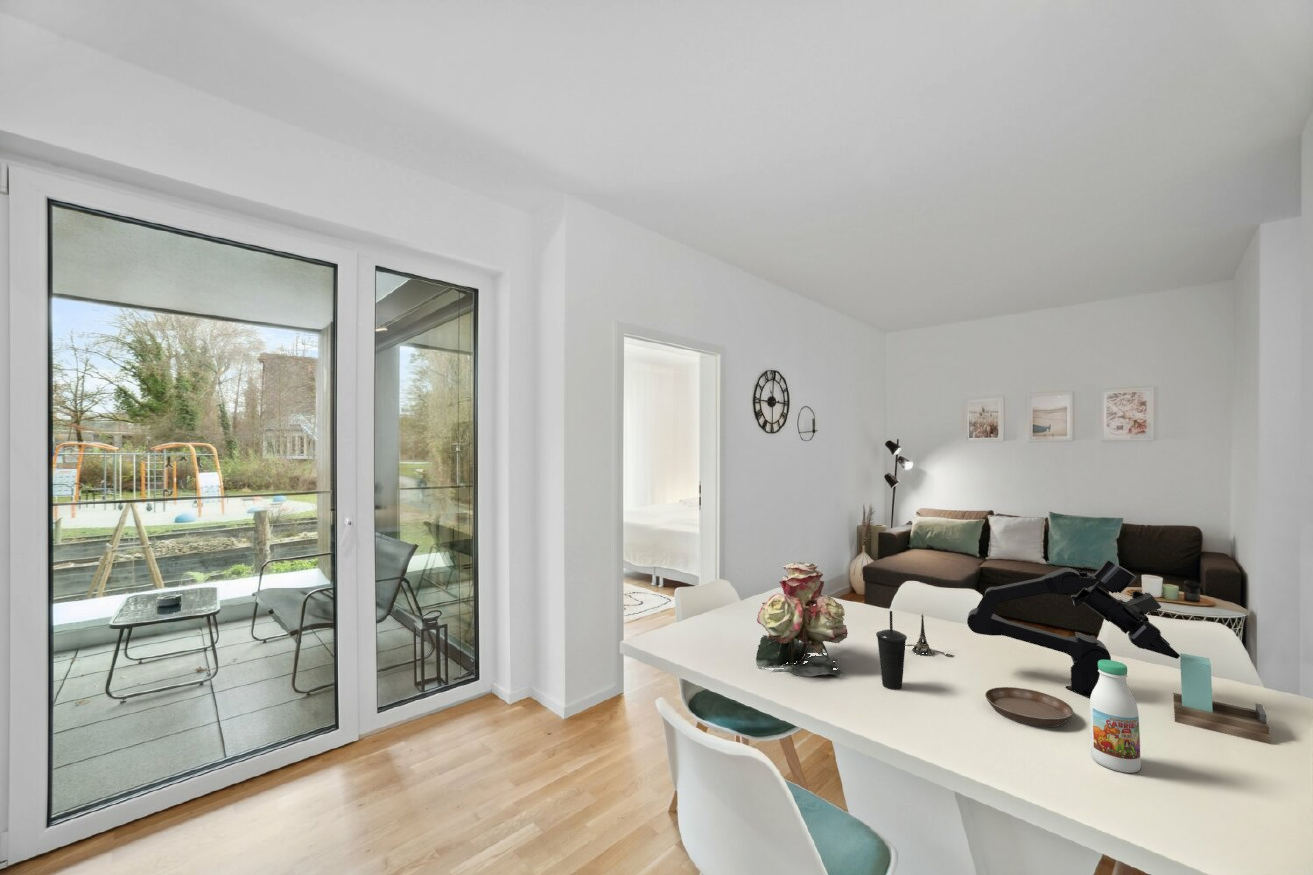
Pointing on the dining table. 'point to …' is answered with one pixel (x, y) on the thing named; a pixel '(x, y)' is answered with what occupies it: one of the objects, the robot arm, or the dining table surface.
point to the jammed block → (1196, 682)
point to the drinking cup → (891, 656)
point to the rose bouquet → (800, 624)
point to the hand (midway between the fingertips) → (1173, 651)
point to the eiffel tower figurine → (924, 644)
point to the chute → (1225, 719)
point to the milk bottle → (1114, 720)
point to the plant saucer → (1029, 706)
